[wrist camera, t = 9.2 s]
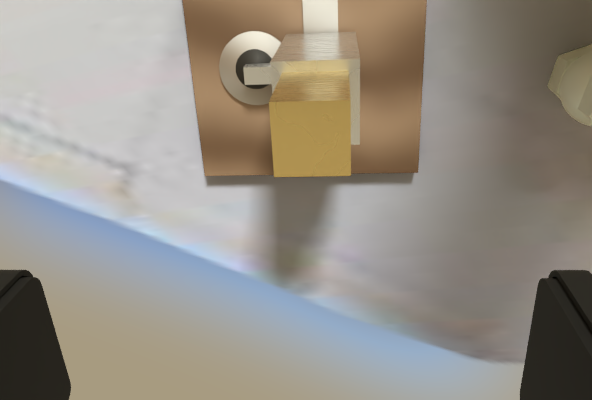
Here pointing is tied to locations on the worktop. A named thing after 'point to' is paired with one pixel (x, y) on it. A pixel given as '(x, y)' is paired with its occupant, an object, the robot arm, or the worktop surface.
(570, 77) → the valve
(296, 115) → the block
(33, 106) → the worktop surface
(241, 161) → the bolt plate
